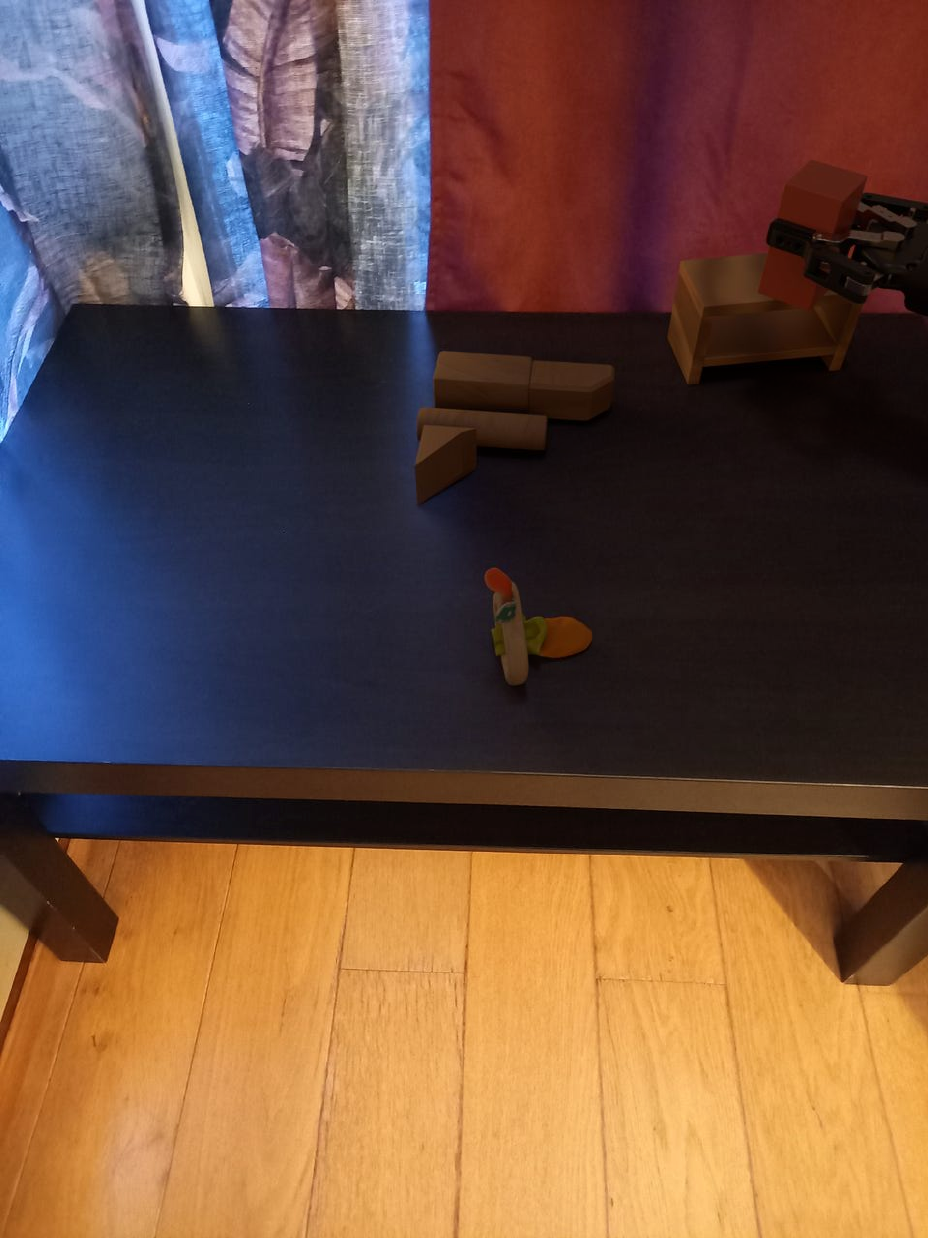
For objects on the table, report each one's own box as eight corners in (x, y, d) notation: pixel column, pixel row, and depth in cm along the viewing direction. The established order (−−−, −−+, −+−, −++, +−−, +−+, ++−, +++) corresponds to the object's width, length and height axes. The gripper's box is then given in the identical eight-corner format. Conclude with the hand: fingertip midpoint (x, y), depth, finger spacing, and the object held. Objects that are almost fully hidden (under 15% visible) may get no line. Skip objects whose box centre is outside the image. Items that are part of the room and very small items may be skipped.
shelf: (812, 324, 101) (837, 246, 94) (840, 370, 96) (868, 291, 89) (667, 337, 100) (680, 260, 93) (687, 384, 95) (703, 306, 88)
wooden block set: (429, 339, 91) (616, 351, 90) (432, 387, 96) (609, 399, 94) (401, 457, 81) (612, 472, 79) (405, 504, 85) (605, 519, 84)
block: (833, 285, 85) (868, 175, 77) (809, 311, 82) (843, 200, 74) (781, 267, 87) (811, 158, 79) (756, 292, 84) (784, 182, 76)
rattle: (588, 708, 71) (602, 614, 62) (481, 697, 72) (480, 603, 63) (592, 630, 76) (606, 532, 67) (491, 621, 77) (492, 523, 68)
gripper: (1034, 197, 75) (831, 139, 81) (971, 279, 68) (755, 209, 74) (994, 282, 81) (808, 222, 87) (932, 365, 74) (736, 293, 80)
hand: (785, 216), depth 81 cm, fingers closed on block, 5 cm apart
